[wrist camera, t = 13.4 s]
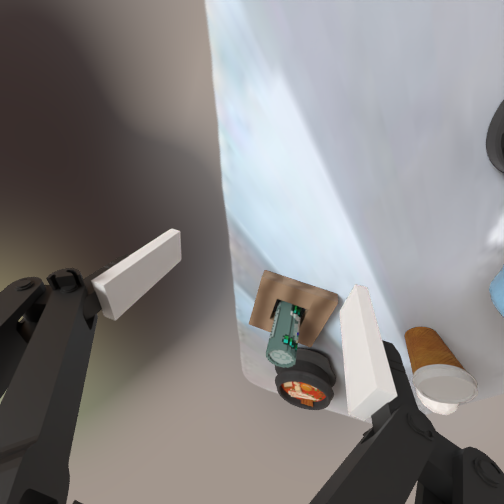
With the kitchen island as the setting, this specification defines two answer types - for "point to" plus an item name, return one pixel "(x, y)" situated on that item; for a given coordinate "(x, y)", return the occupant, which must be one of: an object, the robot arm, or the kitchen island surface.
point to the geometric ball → (437, 405)
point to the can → (284, 335)
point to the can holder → (299, 294)
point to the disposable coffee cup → (438, 368)
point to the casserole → (306, 381)
